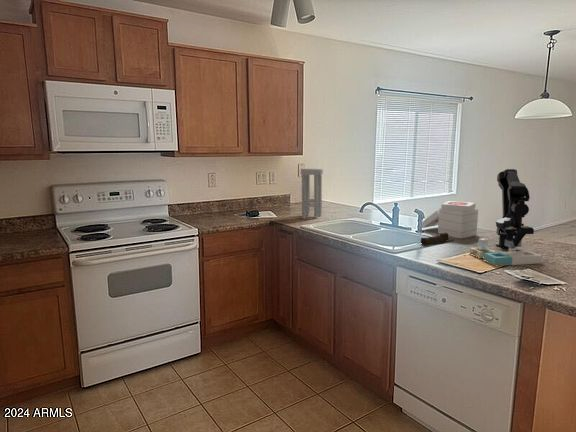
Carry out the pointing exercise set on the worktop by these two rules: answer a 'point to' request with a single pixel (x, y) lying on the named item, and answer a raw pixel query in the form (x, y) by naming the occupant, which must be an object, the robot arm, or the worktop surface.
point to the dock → (513, 258)
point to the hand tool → (435, 239)
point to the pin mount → (480, 252)
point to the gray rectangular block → (511, 244)
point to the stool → (306, 191)
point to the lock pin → (483, 244)
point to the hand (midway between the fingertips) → (512, 245)
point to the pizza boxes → (455, 219)
